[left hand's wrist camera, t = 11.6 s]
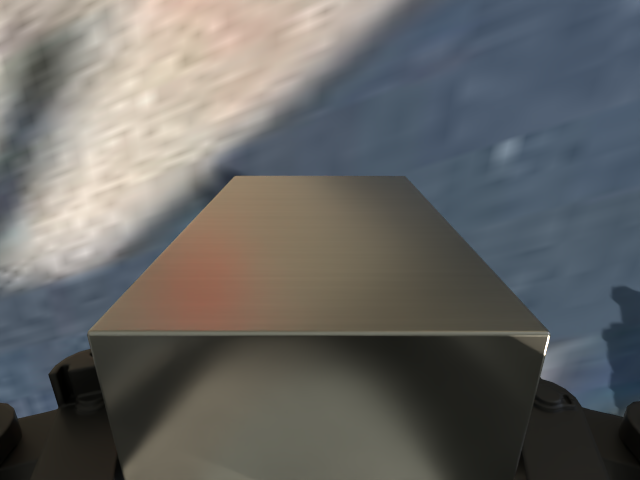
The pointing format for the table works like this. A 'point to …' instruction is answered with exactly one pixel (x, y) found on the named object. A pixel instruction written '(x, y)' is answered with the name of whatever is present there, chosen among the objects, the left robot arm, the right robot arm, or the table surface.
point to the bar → (319, 343)
